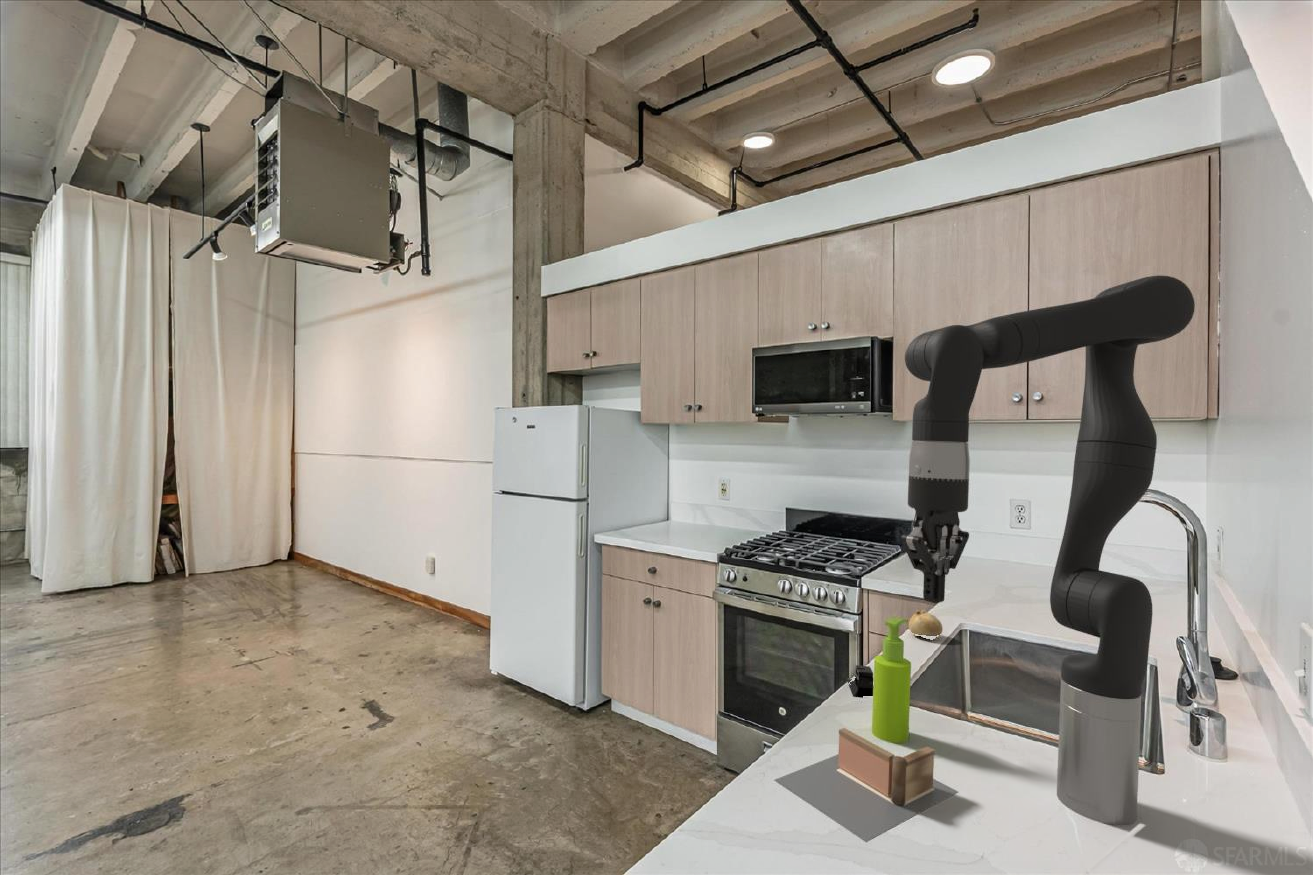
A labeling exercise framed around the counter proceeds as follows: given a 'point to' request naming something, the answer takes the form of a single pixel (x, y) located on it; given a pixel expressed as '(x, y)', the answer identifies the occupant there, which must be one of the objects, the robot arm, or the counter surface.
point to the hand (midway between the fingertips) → (933, 601)
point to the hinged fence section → (865, 761)
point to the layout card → (856, 798)
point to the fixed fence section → (912, 775)
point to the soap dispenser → (891, 688)
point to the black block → (862, 682)
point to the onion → (925, 624)
